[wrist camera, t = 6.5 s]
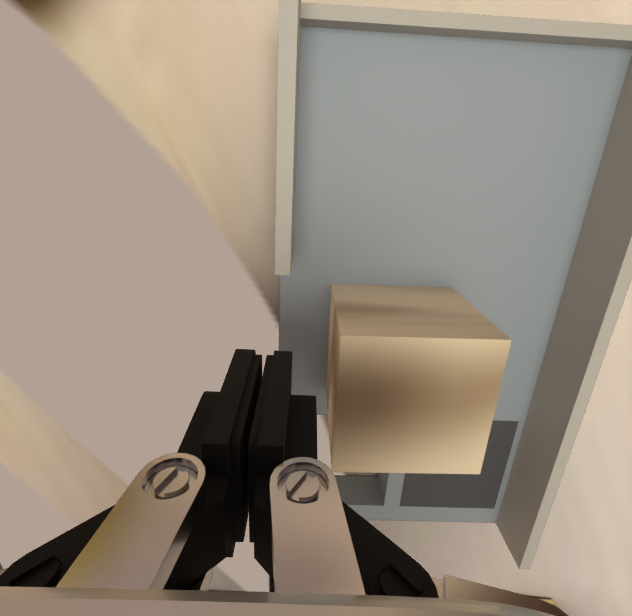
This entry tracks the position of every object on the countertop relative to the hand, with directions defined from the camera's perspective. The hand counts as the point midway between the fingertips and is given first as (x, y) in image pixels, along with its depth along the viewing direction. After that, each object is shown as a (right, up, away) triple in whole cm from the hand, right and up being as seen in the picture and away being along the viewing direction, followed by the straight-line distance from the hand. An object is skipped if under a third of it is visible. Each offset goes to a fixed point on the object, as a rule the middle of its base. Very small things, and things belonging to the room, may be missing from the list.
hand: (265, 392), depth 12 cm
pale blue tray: (+6, +2, +7) cm, 9 cm away
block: (+5, +1, +5) cm, 7 cm away
